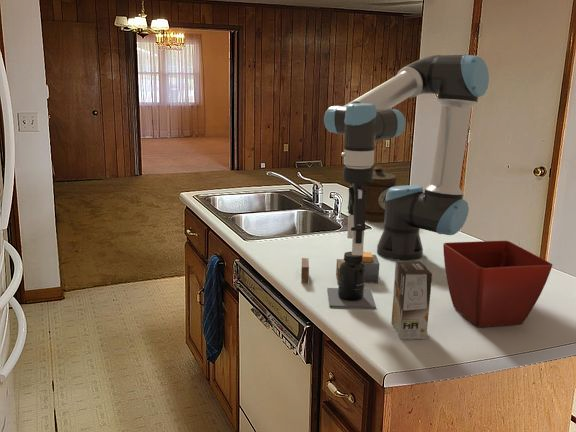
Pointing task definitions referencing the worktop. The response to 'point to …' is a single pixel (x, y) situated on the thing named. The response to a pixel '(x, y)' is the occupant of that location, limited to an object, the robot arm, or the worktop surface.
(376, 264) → the plunger housing
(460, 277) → the plant pot
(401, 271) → the coffee box
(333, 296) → the mat
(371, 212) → the wooden container
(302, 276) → the block
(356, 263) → the supplement bottle
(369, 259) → the plunger
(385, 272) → the worktop surface
